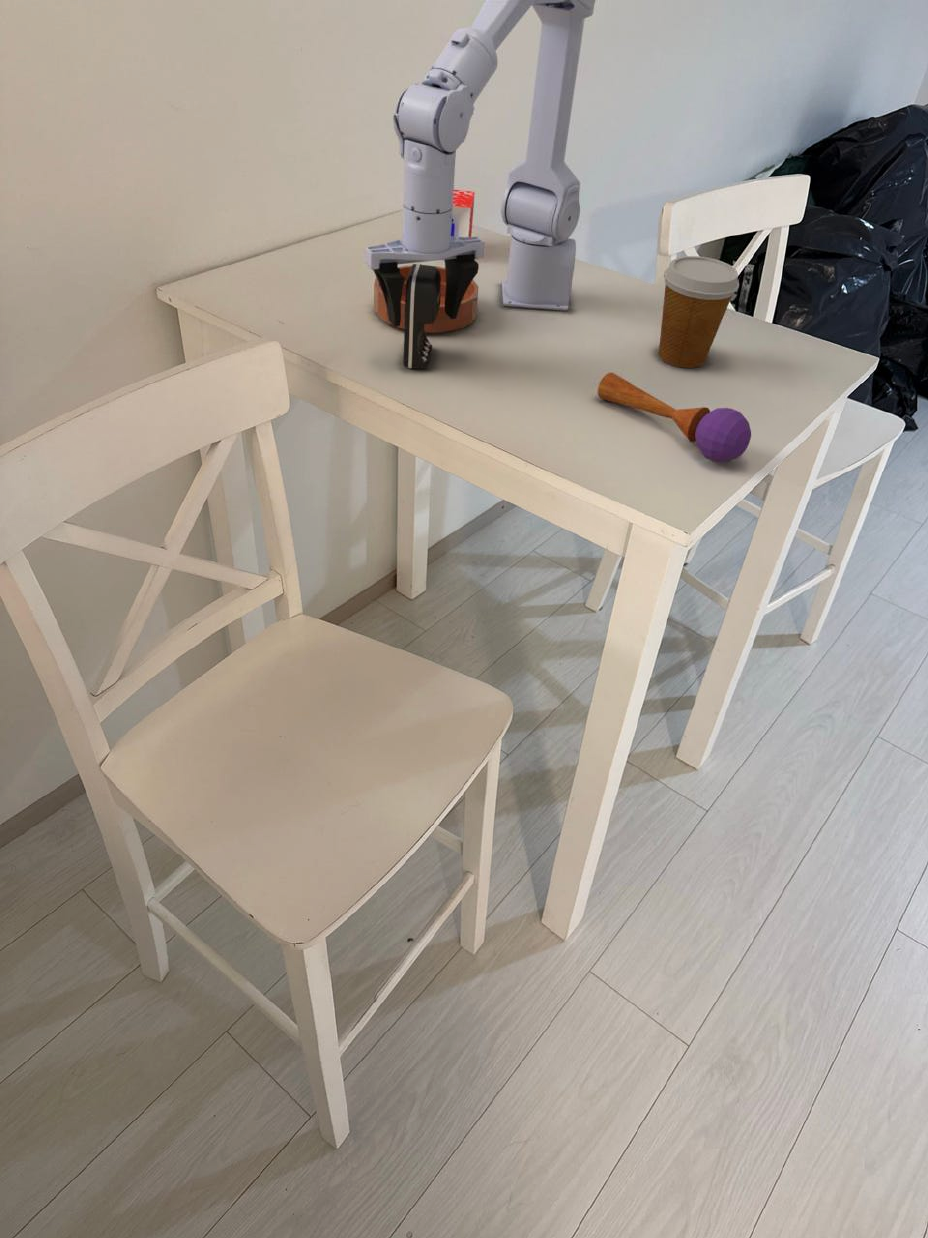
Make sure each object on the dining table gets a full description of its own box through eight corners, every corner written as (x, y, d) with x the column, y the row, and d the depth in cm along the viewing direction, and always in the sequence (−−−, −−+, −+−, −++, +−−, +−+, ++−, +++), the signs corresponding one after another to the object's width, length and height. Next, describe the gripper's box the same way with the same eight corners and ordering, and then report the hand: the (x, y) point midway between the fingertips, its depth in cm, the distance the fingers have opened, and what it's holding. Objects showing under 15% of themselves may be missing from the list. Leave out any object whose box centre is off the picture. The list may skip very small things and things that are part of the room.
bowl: (475, 296, 133) (478, 269, 130) (475, 339, 122) (478, 310, 119) (378, 289, 132) (378, 261, 129) (370, 331, 121) (370, 302, 119)
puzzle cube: (470, 242, 148) (474, 191, 143) (466, 260, 143) (470, 207, 137) (422, 237, 149) (424, 186, 143) (416, 254, 143) (418, 202, 137)
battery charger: (432, 373, 114) (437, 283, 106) (402, 369, 114) (405, 279, 106) (438, 348, 119) (443, 261, 111) (409, 345, 119) (412, 257, 112)
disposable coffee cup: (673, 335, 127) (694, 249, 119) (730, 361, 123) (756, 272, 115) (632, 353, 122) (651, 264, 114) (690, 381, 118) (714, 290, 109)
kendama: (627, 359, 112) (768, 415, 100) (615, 406, 115) (750, 465, 104) (597, 363, 108) (740, 422, 97) (586, 411, 111) (722, 474, 100)
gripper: (469, 189, 109) (461, 299, 118) (355, 198, 104) (356, 312, 113) (495, 209, 105) (485, 322, 114) (378, 219, 99) (377, 336, 108)
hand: (422, 319), depth 113 cm, fingers open, 7 cm apart
